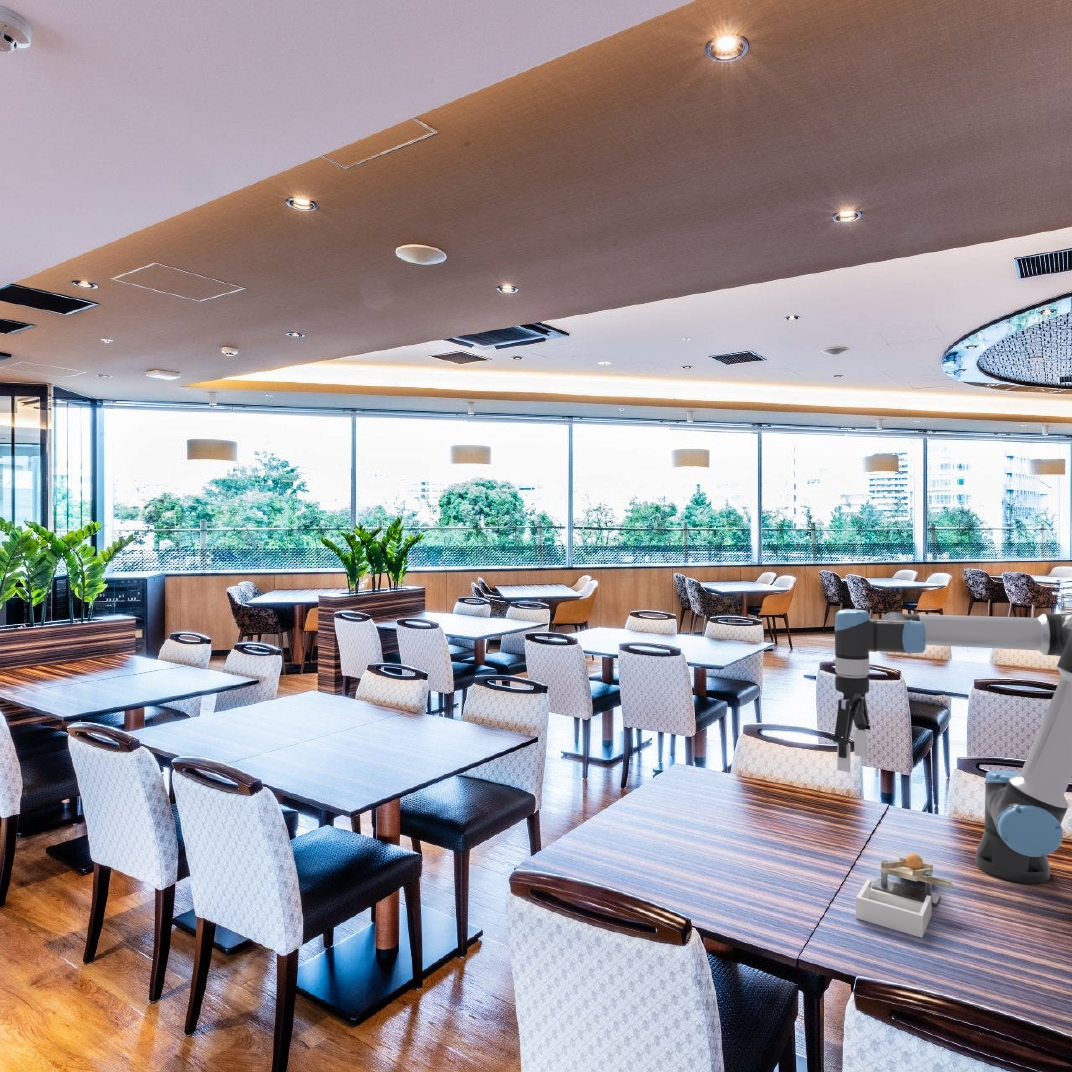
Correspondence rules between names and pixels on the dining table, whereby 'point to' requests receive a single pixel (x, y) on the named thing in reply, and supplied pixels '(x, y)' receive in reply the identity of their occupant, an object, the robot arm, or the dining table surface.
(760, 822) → the dining table surface
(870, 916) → the dish
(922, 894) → the stand
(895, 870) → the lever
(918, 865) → the ball
